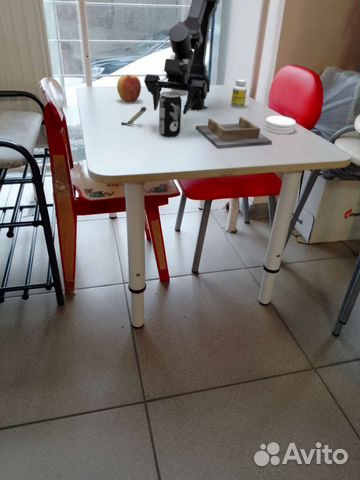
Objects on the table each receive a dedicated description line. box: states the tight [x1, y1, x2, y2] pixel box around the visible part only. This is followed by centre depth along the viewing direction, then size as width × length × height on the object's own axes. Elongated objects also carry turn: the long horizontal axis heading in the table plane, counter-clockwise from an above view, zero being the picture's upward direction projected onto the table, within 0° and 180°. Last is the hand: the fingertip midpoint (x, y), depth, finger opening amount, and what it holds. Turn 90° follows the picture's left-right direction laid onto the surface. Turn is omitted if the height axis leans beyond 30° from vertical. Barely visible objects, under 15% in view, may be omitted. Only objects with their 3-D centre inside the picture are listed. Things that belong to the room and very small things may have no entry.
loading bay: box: [195, 116, 273, 149], centre depth 112 cm, size 18×18×4 cm
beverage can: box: [158, 91, 183, 138], centre depth 108 cm, size 7×7×12 cm
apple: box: [116, 73, 142, 103], centre depth 138 cm, size 9×9×10 cm
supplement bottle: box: [230, 78, 248, 109], centre depth 140 cm, size 5×5×10 cm
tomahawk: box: [120, 106, 147, 128], centre depth 125 cm, size 21×7×1 cm, turn 166°
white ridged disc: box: [264, 115, 297, 135], centre depth 120 cm, size 10×10×4 cm
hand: (169, 111), depth 107 cm, fingers open, 9 cm apart
